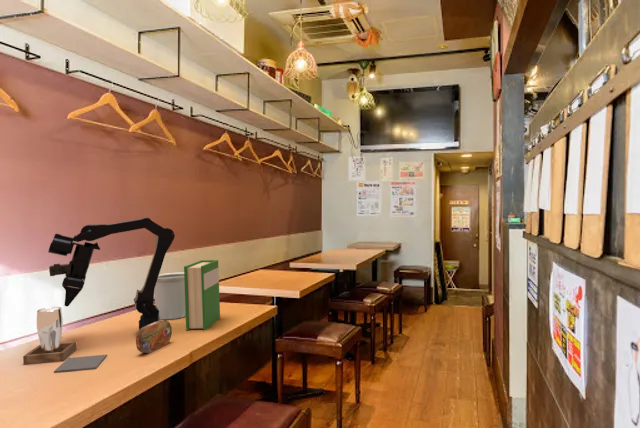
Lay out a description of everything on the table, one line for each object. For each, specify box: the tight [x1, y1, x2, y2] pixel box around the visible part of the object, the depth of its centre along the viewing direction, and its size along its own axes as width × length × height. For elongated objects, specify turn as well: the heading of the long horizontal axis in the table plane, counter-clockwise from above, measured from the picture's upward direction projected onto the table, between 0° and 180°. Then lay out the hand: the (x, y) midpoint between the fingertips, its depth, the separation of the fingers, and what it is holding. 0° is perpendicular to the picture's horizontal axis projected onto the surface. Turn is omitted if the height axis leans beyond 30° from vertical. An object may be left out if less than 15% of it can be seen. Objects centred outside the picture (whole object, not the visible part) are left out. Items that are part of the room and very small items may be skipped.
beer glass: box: [36, 306, 64, 354], centre depth 135 cm, size 7×7×15 cm
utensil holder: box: [154, 271, 186, 321], centre depth 184 cm, size 15×15×18 cm
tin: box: [135, 319, 173, 354], centre depth 141 cm, size 15×3×8 cm, turn 163°
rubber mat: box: [53, 354, 108, 374], centre depth 128 cm, size 11×11×1 cm
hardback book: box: [183, 259, 221, 332], centre depth 169 cm, size 18×7×24 cm, turn 176°
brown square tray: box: [22, 341, 77, 366], centre depth 135 cm, size 11×11×2 cm
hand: (67, 303), depth 148 cm, fingers open, 9 cm apart
